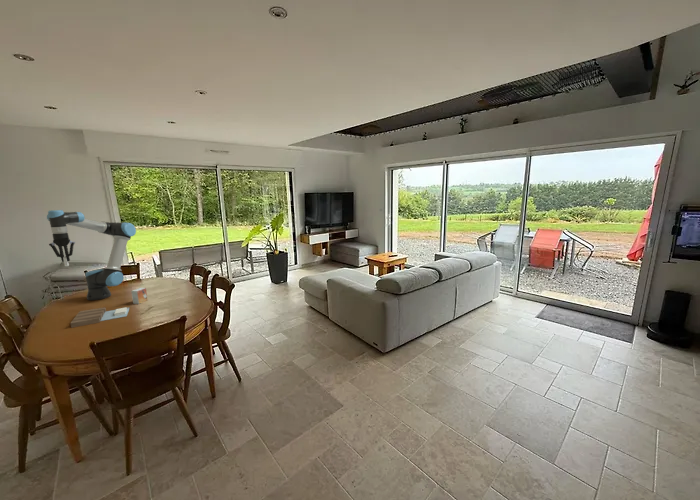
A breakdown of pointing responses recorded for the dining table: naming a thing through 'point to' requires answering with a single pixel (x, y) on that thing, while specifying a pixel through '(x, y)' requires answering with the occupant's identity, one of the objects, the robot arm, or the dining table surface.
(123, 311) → the white flat block
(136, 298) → the small box
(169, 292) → the dining table surface
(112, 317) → the mat
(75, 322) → the deck
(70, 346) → the dining table surface
